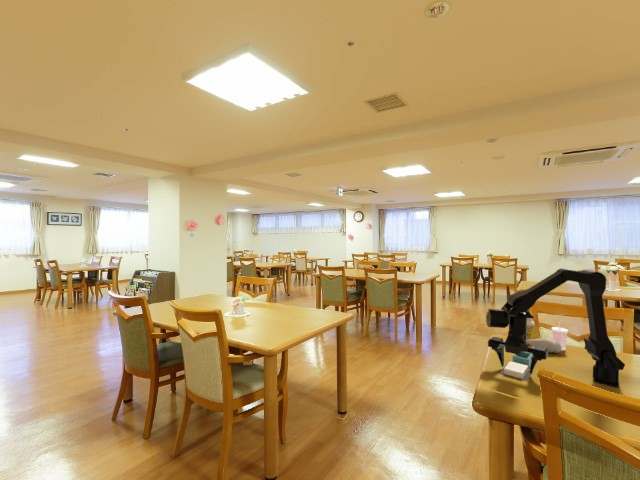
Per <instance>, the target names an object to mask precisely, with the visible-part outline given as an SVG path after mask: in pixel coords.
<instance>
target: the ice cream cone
mask: <svg viewBox="0 0 640 480" xmlns="http://www.w3.org/2000/svg"><path fill="white" fill-rule="evenodd" d="M526 342H527V343H529V345H530V346H532V347H533V348H534V347H535V346H540V347H545V348H547V349H548V354H550V353H553V354H554V353H555V354H559V353H560V352H562V350H561V349H562V348H561V346H560V344H558V343H556V342H553V340H551V339H549V338H546V337H543V338H534V339H532V340H526Z"/></svg>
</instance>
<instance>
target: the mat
mask: <svg viewBox="0 0 640 480" xmlns="http://www.w3.org/2000/svg"><path fill="white" fill-rule="evenodd" d="M507 365H508V364H505V365H504V366H503V368H502V369H501V370H500V372H498V374H499V375H502V376H507V377H511V378H513V379H517V380H520V381H524V382H528V380H530V378H531V376H532V374H533V373H534V371H533V372H532V374H530V369H528V372H527V373H526V375H525V376H524V378H523V379H521V378H518V377H514V376H510V375H507V374H504V368H505V367H506V366H507Z"/></svg>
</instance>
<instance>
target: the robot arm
mask: <svg viewBox="0 0 640 480" xmlns="http://www.w3.org/2000/svg"><path fill="white" fill-rule="evenodd" d="M567 282H574V283H575V282H576V283H577V284H578V285H579V288H580V289H581V291H582V293H583V295H584V299H585V306H586V307H585V308H586V312H587V320H588V327H589V335H588V337H587V338H586V337H584V338H583V342H584V349H585V350H586V352H587V353H588V354H589V355H590V357H591V359H592V360H593V361H595V364H593V365H592V378H593V381H594V382H595V383H599V384H603V385H608V386H611V387H615V388H619V387H620V380H619V379H620V378H619V377H620V375H619V374H620V371H623V370H624V369H625V366H626V364H625V363H624V362H623V361H622V360H621V359H620V358H619V357H618V356H617V352H616V349H615V347H614V344H613V342H612V341H611V339H610V338H609V336H608V330H607V329H608V328H607V320H606V315H605V307H604V299H603V296H604V293H605V291H606V289H607V277H606V275H605V274H603V273H602V272H599V271H595V270H591V269H582V270H581V271H580V270H573V269H572V270H571V269H568V268H567V269H566V268H562V267H561V268H558V269H557V270H556V271H555V272H553V273H552V274H550V275H548V276H547V277H545V278H543V279H542V280H540V281H539V282H537V283H536V284H534V285H532V286H530V287H529V288H526V289H522V290H520V291H517V292H514V293H512V294H510V295H509V296H508V298H507V301H506V303H505V304H504V305H503V306H502V307H501V309H496V308H495V309H494V308H488V311H487V313H486V316H485V321H486V326H487V327H488V328H499V329H505V328H507V327H508V332H507V336H506V340H505V341H504V339H503V337H497V336H492V337H490V338H489V339H488V341H487V347H489V348H491V350H493V351H495V353H496V355H497V356H498V360H499V362H500V365H501V367H503V368H504V367H505V365H504V364H505V352H506V353H508V354H509V353H510V354H513V355H514V354H516V355H519V354H520V353H521V352H528V353H532V355H533V356H532V358H531V366H530V368H529V370H530V374H531V375H532V374H533V373H534V369H535V366H536V365H537V364H538V361H539V362H541V361H543V360H547V358H548V357H549V353H548V349H547V348H545V347H540V346H535V347H534V346H533V347H530V346H529V345H528V343H527V342H526V335H527V318H532V319H534V316H533V315H532V314H531V313H530V311H529V310H530V309H531V308H532V307H533V306H535V304H536V302H537V301H539V299H540V298H542V297H543V296H545V295H547V294H548V293H550V292H552V291H553V290H555V289H557V288H559V287H560V286H562V285H563V284H565V283H567ZM532 372H533V373H532Z"/></svg>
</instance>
